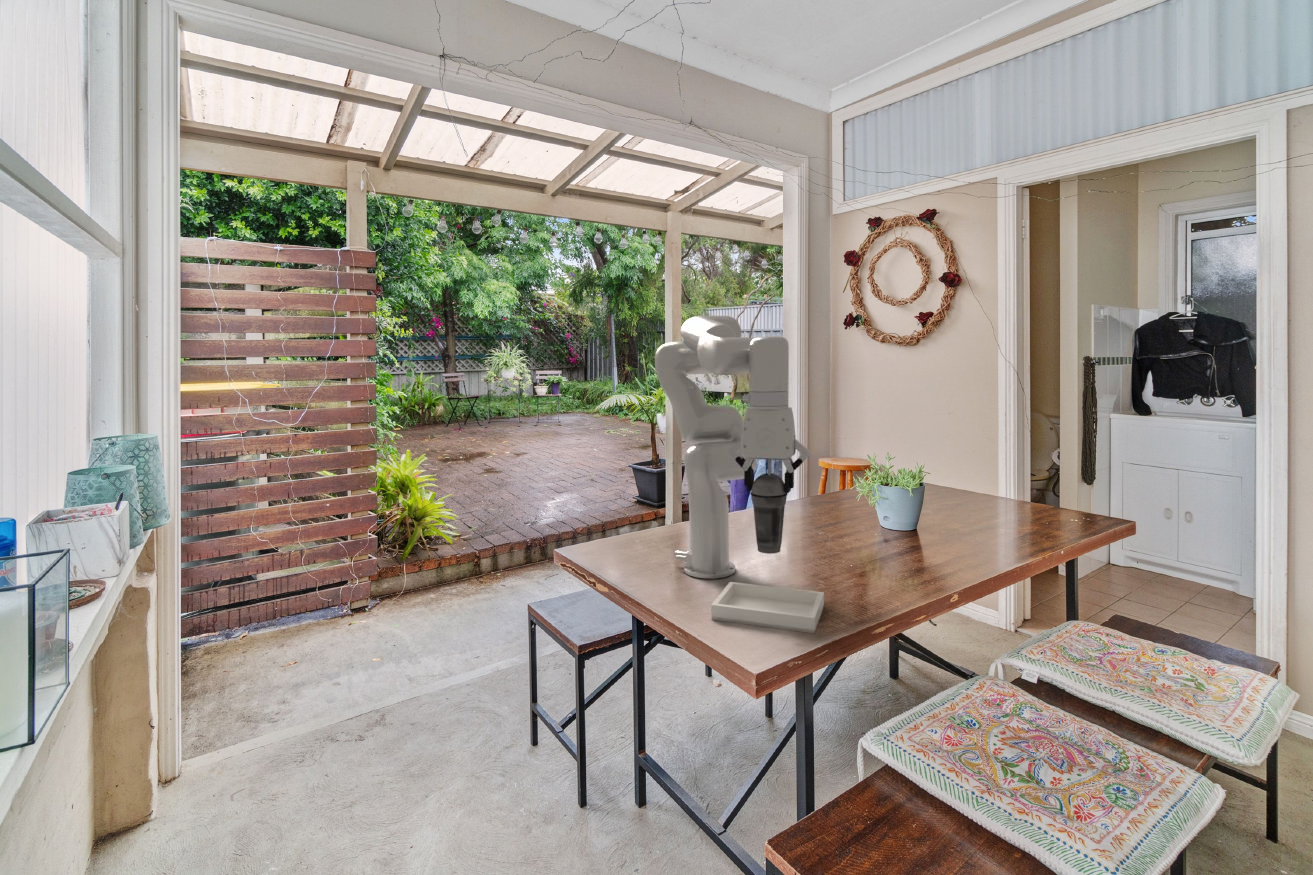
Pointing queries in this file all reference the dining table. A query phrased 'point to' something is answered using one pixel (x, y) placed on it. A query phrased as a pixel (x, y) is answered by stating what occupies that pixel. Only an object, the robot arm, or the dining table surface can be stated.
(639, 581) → the dining table surface
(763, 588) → the tray
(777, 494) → the beverage cup
